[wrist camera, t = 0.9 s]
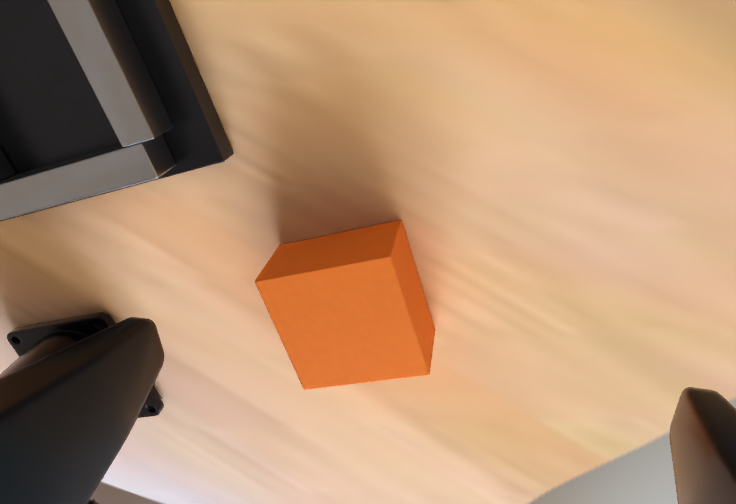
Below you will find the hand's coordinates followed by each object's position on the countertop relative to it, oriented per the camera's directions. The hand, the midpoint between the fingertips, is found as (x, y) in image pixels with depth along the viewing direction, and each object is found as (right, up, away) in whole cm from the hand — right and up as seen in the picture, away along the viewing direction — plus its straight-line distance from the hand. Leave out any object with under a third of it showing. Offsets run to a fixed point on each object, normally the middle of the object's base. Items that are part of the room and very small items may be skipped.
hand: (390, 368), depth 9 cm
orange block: (-1, 0, +15) cm, 15 cm away
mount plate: (-13, +9, +12) cm, 20 cm away
